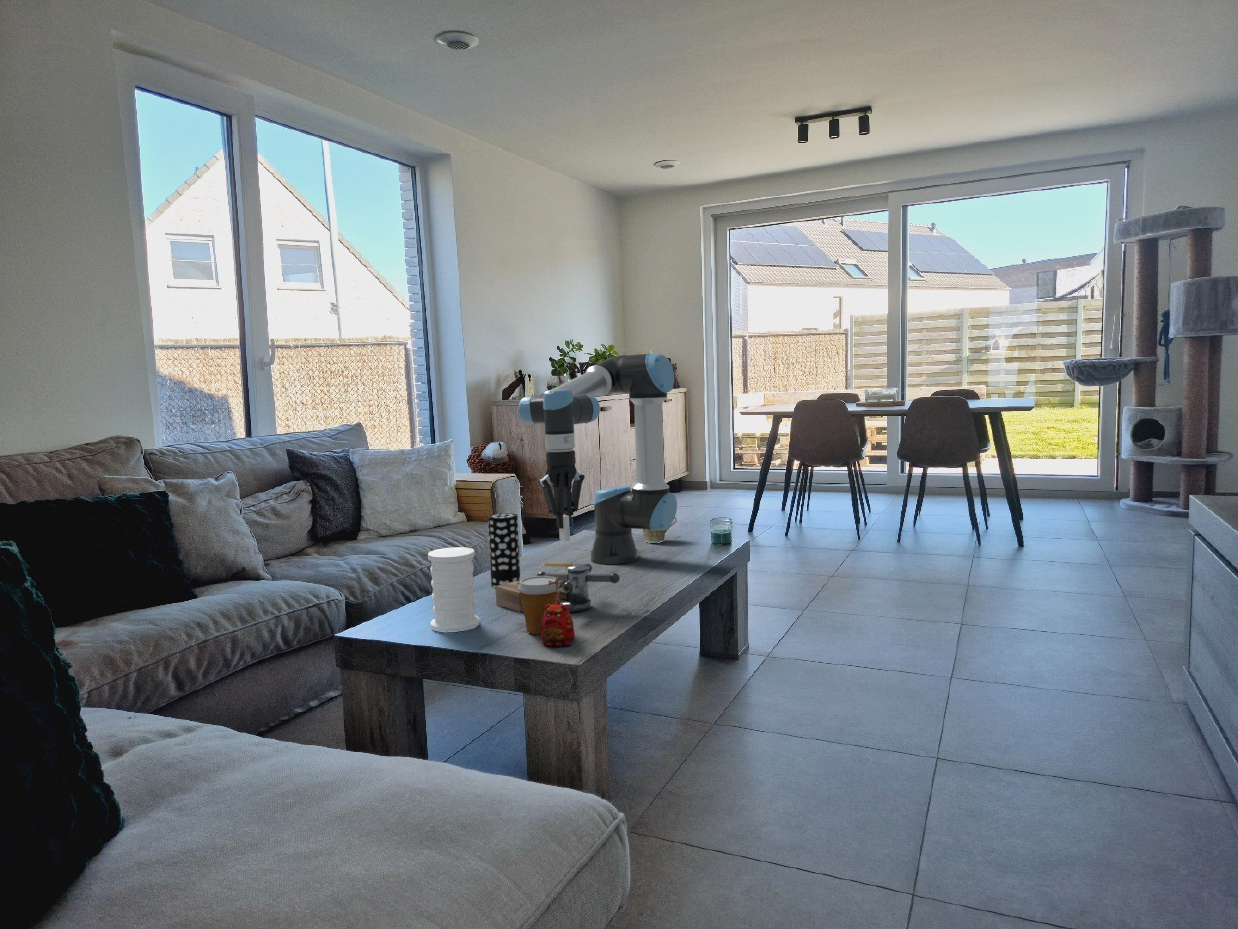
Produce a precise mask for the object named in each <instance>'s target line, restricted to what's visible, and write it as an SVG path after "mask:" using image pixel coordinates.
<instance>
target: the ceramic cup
mask: <svg viewBox="0 0 1238 929" xmlns="http://www.w3.org/2000/svg"><path fill="white" fill-rule="evenodd" d="M674 520H675V521H673V523H672V524H671V526H670V527H669V528H668V529H666V530H655V531H652V530H646V529H642V534H643V539H644V543H645V542H649V543H652V542H660V541H663V540H664V541H665V535H666V533H667V531H668V530H669V529H670V528H671V527H673V526H674V525H675V524H676V523H677V516H675V518H674Z"/></svg>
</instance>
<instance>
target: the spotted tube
mask: <svg viewBox="0 0 1238 929" xmlns="http://www.w3.org/2000/svg"><path fill="white" fill-rule="evenodd" d="M518 521H519V520H518V514H516V513H507V512H505V513H504V512H503V513H494V514H489V515H488V516H487V525H488V526H487V527H488V544H489V546H488V547H489V564H490V565H489V566H490V567H489V568H490V585H491V586H490V587H492V588H494V589H496V586H498V585H502V584H506V583H511V582H515V581H519V580H521V568H520V567H521V566H520V564H521V563H520V543H519V539H520V538H519V522H518Z"/></svg>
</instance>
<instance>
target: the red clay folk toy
mask: <svg viewBox="0 0 1238 929" xmlns="http://www.w3.org/2000/svg"><path fill="white" fill-rule="evenodd" d="M558 581H559V579H558V574H557V578H556V579H555V582H551V581H549V585H551V584H556V590H557V591H556V594H557V597H556V603H555V604H553V605H551V604H547V605H546V606H545V611H544V614H543V616H542V619H541V625H540V629H541V635H540V639H541V642H542V645H543V644H544V645H543V646H547V647H557V648H563V647H562V646H566V647H570V646H571V643H573V642H574V639H575V637H576V636H575V629H574V627H575V626H574V625H575V624H574V620H573V617H572V614H571V612H569V611H568V609H567V606H566V605H561V604H560V602H559V597H558V595H559V591H558Z"/></svg>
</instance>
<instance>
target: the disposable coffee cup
mask: <svg viewBox="0 0 1238 929" xmlns="http://www.w3.org/2000/svg"><path fill="white" fill-rule="evenodd" d="M555 579H556V578H555V577H551V576H537V575H535V576H528V577H525V578H522V579H520V584H519V586H518V589H519V591H520V593H521V599H522V605H523V610H524V611H523V614H524V615H523V616H524V621H525V626H526V633H528V632H529V633H533V634H541V629H540V625H541V619H542V616H543V614H544V611H545V606H546V605H547V604H551V605H553V604H555V603H556V597H557V594H556V591H557V590H556V584H551V585H549V581H551V582H555ZM558 587H559V583H558ZM529 633H528V634H529Z"/></svg>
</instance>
